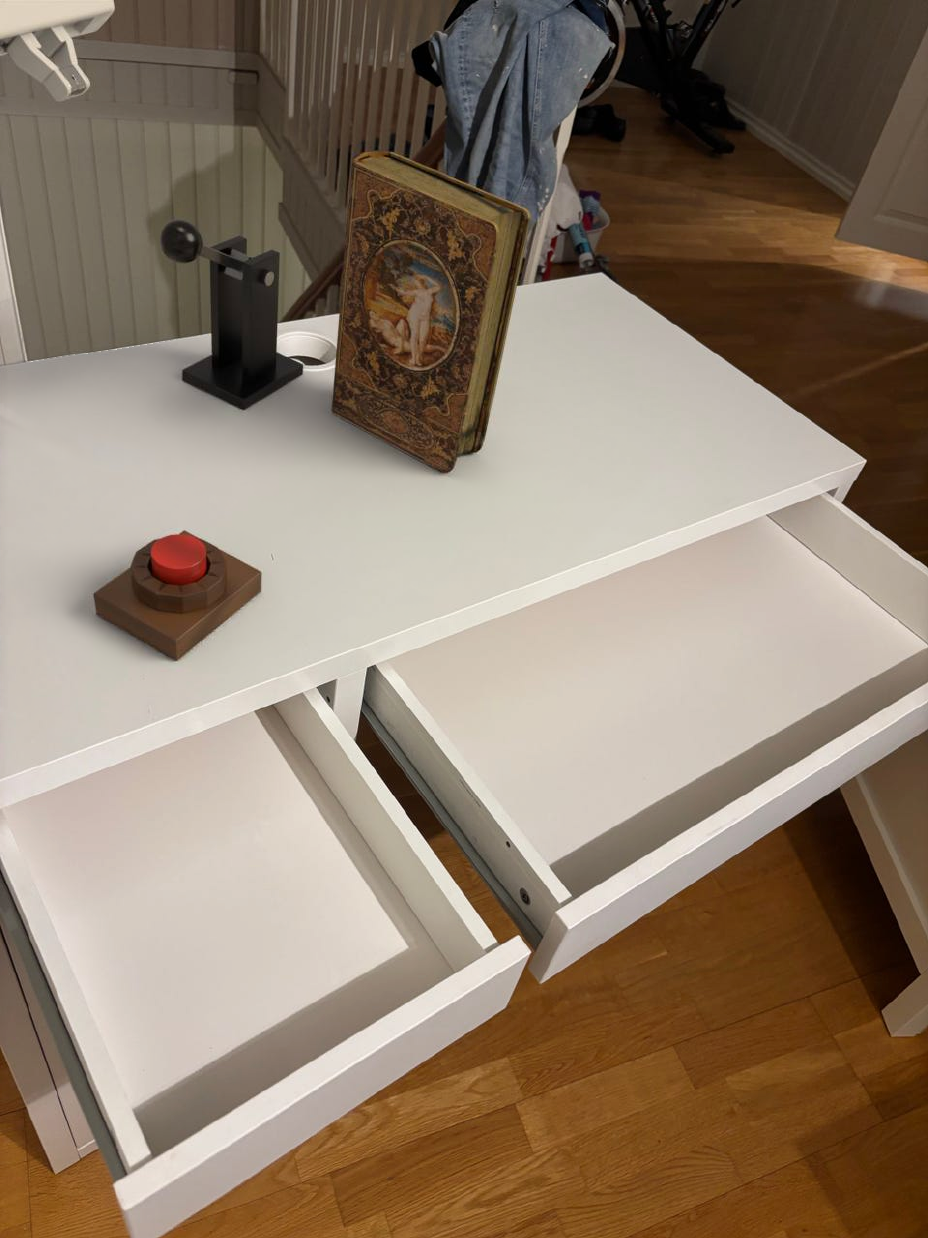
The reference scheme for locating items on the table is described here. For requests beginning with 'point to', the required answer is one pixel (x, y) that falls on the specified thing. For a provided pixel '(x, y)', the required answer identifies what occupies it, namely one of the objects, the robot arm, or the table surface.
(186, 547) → the button
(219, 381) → the bracket
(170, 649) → the button block
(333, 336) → the table surface
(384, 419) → the book
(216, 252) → the lever
